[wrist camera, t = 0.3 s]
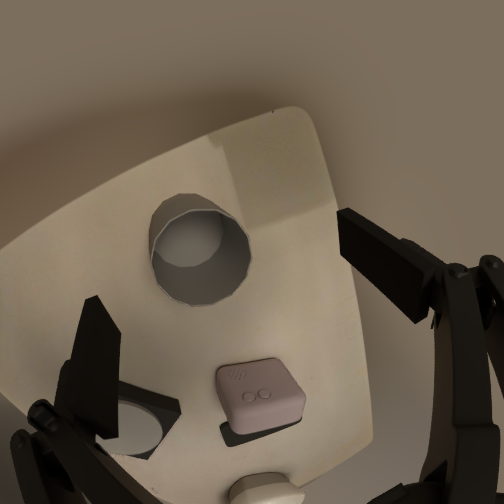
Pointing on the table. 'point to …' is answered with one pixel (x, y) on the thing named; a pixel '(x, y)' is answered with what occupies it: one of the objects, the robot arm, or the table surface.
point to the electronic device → (259, 396)
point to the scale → (141, 421)
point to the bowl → (265, 490)
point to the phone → (237, 439)
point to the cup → (197, 250)
